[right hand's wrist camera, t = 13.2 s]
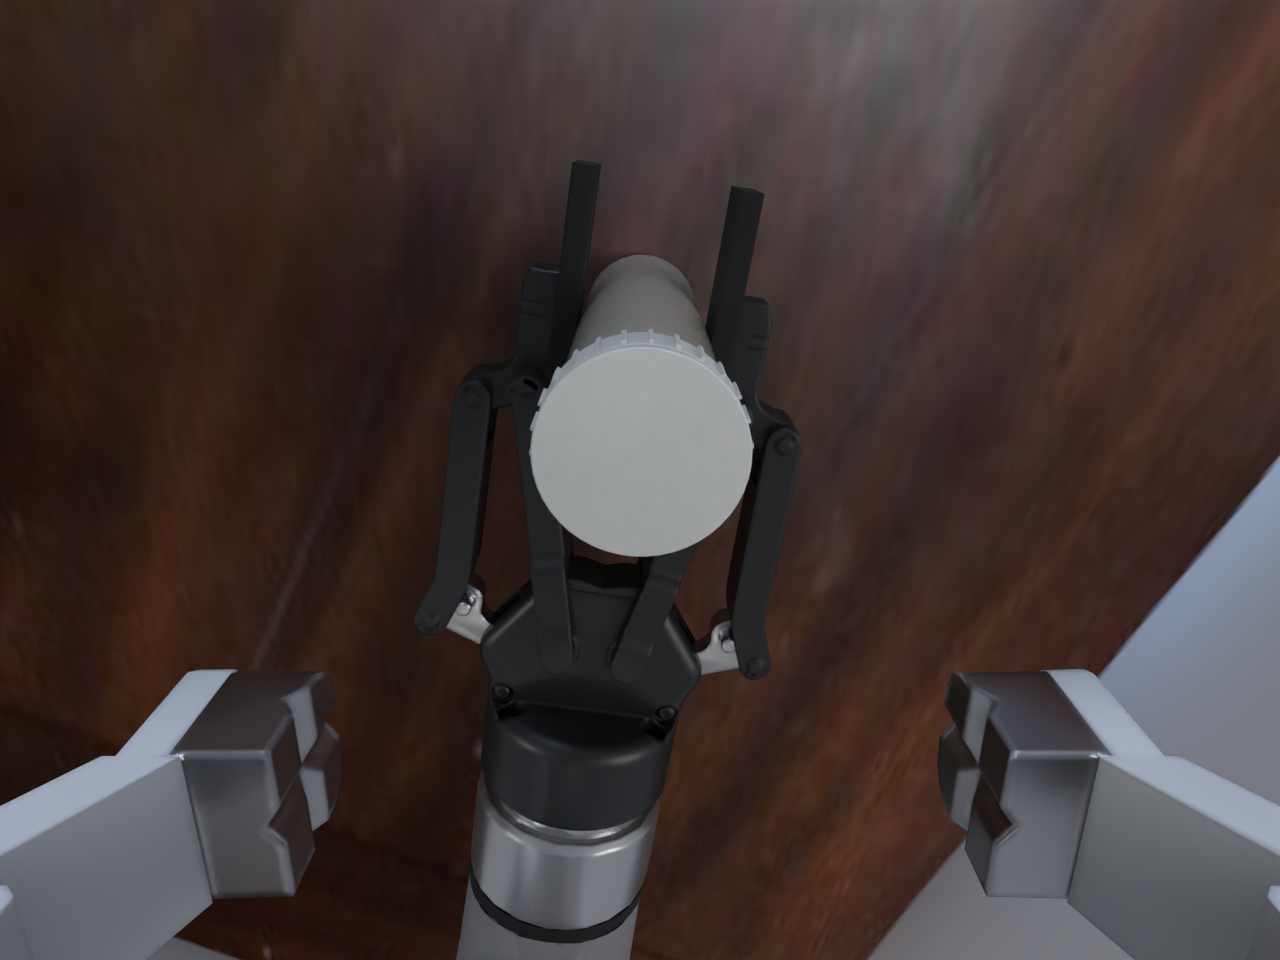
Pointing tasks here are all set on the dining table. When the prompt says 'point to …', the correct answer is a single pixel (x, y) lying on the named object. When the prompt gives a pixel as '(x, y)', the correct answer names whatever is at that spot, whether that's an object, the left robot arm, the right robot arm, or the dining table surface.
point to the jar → (641, 304)
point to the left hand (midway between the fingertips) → (667, 178)
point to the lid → (641, 444)
